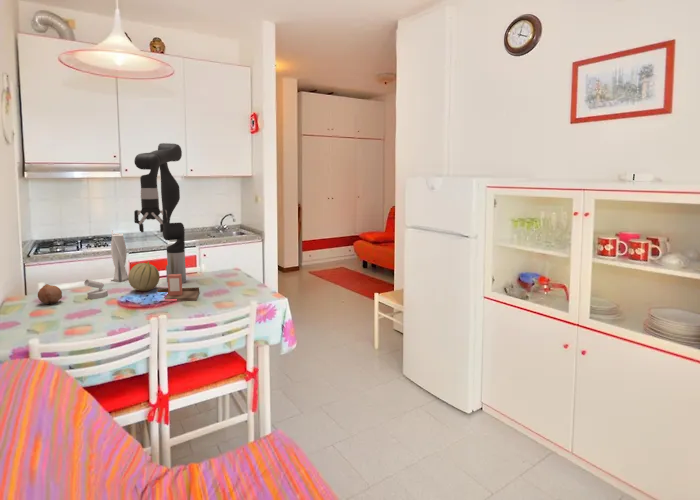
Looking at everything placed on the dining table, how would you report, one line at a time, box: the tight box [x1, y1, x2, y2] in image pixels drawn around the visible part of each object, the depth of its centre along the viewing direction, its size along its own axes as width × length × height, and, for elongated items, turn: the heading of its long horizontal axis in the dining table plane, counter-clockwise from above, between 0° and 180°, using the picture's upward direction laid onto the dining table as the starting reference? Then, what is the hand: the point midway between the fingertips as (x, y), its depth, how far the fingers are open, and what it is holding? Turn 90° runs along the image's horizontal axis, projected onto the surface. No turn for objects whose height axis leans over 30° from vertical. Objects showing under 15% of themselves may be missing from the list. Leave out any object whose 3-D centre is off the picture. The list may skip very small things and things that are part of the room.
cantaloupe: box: [127, 261, 160, 292], centre depth 230 cm, size 15×15×15 cm
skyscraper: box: [110, 230, 129, 283], centre depth 248 cm, size 8×8×28 cm
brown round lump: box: [37, 283, 63, 305], centre depth 207 cm, size 10×9×10 cm
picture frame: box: [167, 274, 183, 296], centre depth 219 cm, size 6×3×10 cm, turn 102°
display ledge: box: [156, 286, 200, 302], centre depth 220 cm, size 20×13×3 cm, turn 102°
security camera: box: [83, 278, 108, 300], centre depth 219 cm, size 9×10×10 cm
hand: (152, 232), depth 211 cm, fingers open, 8 cm apart
